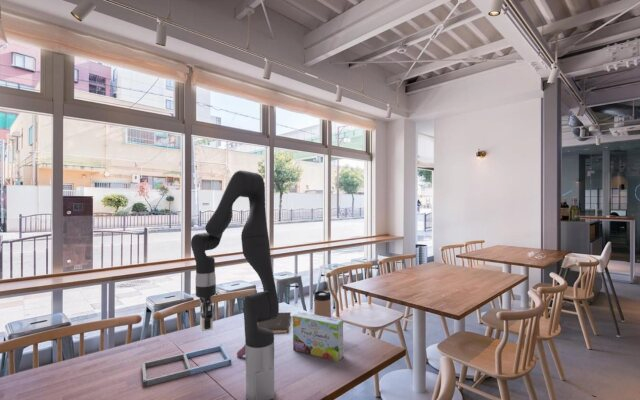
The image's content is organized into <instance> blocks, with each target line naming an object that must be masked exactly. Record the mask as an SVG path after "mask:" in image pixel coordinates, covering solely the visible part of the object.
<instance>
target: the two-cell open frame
mask: <svg viewBox="0 0 640 400" xmlns="http://www.w3.org/2000/svg"><path fill="white" fill-rule="evenodd" d="M215 352H220V353H221V354H222V356H223V358H224V360H218V361H215V362H210V363H207V364H203V365H199V366H194V367H192V366H191V364H190V361H189V359H188V358H193V357H197V356H203V355H207V354H211V353H215ZM180 360H183V362H184V365H185V368H186V369H183V370H180V371H179V370H178V371H175V372H171V373H167V374H163V375H160V376H155V377H151V378H147V370H146V368H151V367H156V366H159V365H163V364H168V363H172V362H177V361H180ZM229 365H232V359H231V357H230V355H229V354H228V352H227V350H226V349H225V347H224V346H223V344H218V345H214V346H210V347H206V348H205V347H204V348H201V349H196V350H192V351H189V352H188V351H187V352H183V353H180V354H176V355H175V354H174V355H171V356H170V355H169V356H167V357H166V356H165V357H162V358H158V359H154V360H148V361H144V362H141V370H142V383H143V384H142V385H143V388H145V387H149V386H154V385H156V384H159V383H164V382H168V381H172V380H175V379H180V378H182V377H187V376H191V375H195V374H200V373H202V372H207V371H211V370H214V369H218V368H221V367H226V366H229Z"/></svg>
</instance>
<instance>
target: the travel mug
mask: <svg viewBox="0 0 640 400" xmlns="http://www.w3.org/2000/svg"><path fill="white" fill-rule="evenodd" d="M313 294H314V295H313V296H314V297H313V301H314V302H313V305H314V306H313V307H314V308H313V309H314V310H313V311H314V315H319V316H324V317H329V318H332V308H331V307H332V303H331V301H332V299H331V298H332V297H331V292H330V291H328V292H326V291H325V290H319V291H315V292H314V293H313Z"/></svg>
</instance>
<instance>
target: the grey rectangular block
mask: <svg viewBox="0 0 640 400" xmlns="http://www.w3.org/2000/svg"><path fill="white" fill-rule="evenodd" d="M207 316H209V315H207ZM213 317H214V316H213V313H212V319H211V328H210V329H205V328H204V314H203V313H201V312H200V313H199V328H200V330H201V332H206V331H211V330H213V323H214V322H213V321H214V320H213Z"/></svg>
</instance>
